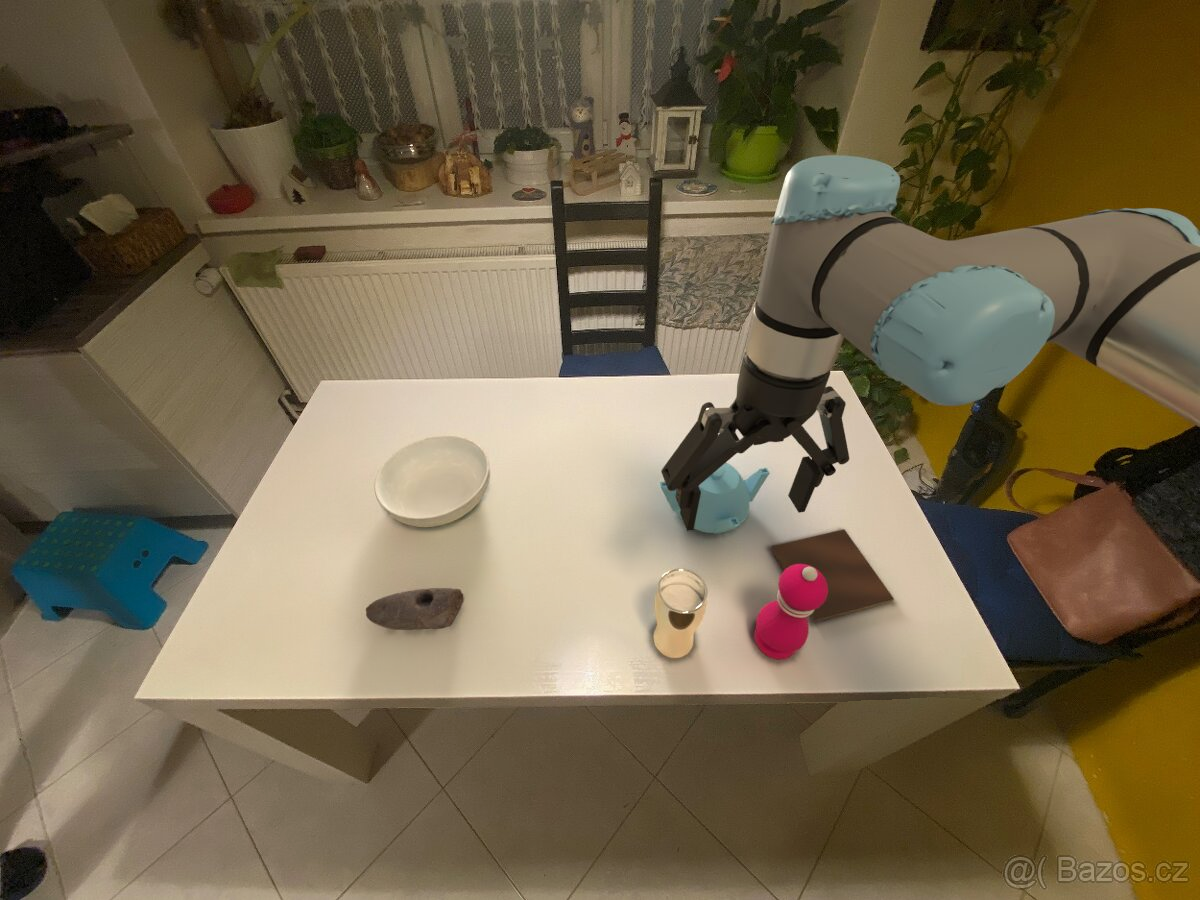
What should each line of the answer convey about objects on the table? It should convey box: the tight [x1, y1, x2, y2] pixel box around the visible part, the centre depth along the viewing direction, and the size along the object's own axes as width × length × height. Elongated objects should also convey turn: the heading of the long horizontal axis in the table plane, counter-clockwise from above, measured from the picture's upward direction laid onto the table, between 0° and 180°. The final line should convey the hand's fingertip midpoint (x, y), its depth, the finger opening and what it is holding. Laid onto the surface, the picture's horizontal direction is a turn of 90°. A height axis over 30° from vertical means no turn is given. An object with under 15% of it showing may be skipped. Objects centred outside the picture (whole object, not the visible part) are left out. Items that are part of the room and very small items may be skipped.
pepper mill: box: [754, 564, 828, 661], centre depth 70 cm, size 7×7×20 cm
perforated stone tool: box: [365, 587, 464, 630], centre depth 78 cm, size 15×5×7 cm, turn 92°
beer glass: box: [653, 567, 709, 659], centre depth 73 cm, size 7×7×15 cm
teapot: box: [659, 462, 770, 534], centre depth 92 cm, size 15×15×11 cm
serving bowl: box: [373, 434, 491, 528], centre depth 96 cm, size 21×21×7 cm
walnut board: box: [770, 528, 895, 623], centre depth 85 cm, size 14×14×1 cm
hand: (742, 512), depth 59 cm, fingers open, 13 cm apart
